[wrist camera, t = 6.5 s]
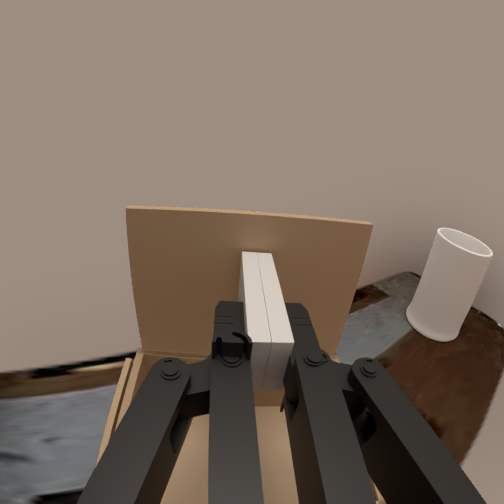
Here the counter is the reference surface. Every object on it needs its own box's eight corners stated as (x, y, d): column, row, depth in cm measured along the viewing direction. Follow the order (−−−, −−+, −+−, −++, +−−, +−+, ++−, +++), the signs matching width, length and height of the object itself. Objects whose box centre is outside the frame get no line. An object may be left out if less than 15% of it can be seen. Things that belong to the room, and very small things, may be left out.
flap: (142, 348, 18) (125, 208, 14) (144, 342, 18) (129, 204, 14) (334, 354, 19) (373, 224, 15) (331, 348, 20) (368, 221, 16)
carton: (119, 535, 10) (84, 518, 7) (142, 396, 21) (129, 346, 18) (358, 531, 11) (402, 510, 9) (324, 400, 23) (344, 353, 20)
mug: (438, 295, 40) (464, 225, 34) (476, 324, 33) (508, 251, 27) (393, 311, 35) (423, 227, 30) (437, 350, 28) (479, 260, 23)
